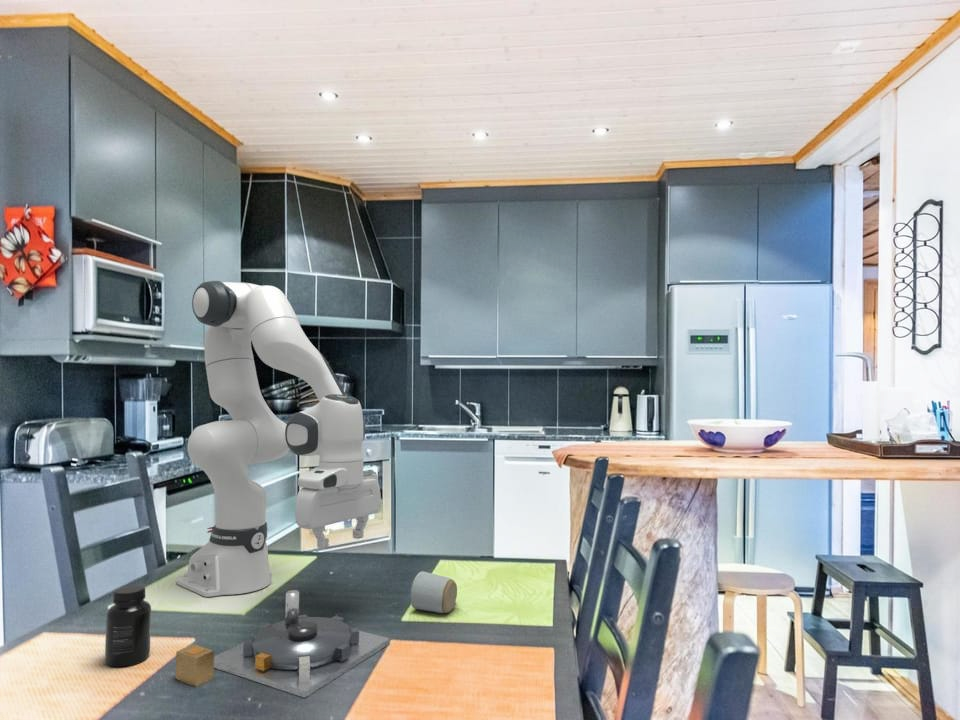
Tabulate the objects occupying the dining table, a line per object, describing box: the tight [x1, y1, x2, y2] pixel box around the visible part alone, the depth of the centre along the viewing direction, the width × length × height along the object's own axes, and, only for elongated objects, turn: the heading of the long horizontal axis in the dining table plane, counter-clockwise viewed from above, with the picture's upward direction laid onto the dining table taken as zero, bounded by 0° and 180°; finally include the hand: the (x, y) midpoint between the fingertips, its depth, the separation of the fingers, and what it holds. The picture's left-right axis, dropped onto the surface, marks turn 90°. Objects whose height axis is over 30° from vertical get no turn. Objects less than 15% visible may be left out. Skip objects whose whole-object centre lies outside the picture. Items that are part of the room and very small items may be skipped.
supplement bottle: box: [104, 584, 152, 668], centre depth 106 cm, size 7×7×12 cm
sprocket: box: [243, 589, 360, 673], centre depth 109 cm, size 20×20×8 cm
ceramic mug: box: [410, 570, 458, 614], centre depth 132 cm, size 11×8×8 cm
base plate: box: [214, 630, 391, 699], centre depth 109 cm, size 22×22×4 cm
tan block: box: [175, 643, 215, 688], centre depth 100 cm, size 5×3×5 cm, turn 62°
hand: (341, 542), depth 124 cm, fingers open, 8 cm apart
